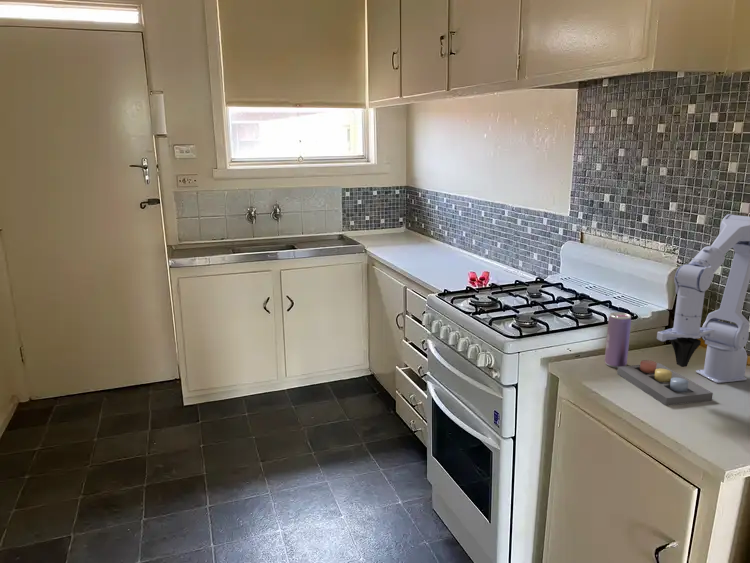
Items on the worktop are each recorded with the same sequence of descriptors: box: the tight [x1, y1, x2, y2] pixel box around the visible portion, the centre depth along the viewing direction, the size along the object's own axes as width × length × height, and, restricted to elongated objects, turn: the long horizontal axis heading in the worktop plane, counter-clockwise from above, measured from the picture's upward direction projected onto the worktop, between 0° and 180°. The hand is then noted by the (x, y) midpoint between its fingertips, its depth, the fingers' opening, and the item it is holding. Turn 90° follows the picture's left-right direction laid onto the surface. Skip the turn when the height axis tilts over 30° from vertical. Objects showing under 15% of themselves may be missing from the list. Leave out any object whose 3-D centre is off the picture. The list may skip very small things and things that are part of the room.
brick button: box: [639, 359, 658, 373], centre depth 155 cm, size 4×4×2 cm
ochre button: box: [654, 368, 672, 382], centre depth 150 cm, size 4×4×2 cm
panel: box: [616, 362, 714, 406], centre depth 150 cm, size 13×20×2 cm, turn 11°
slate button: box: [670, 378, 689, 392], centre depth 144 cm, size 4×4×2 cm
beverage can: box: [604, 311, 632, 369], centre depth 163 cm, size 6×6×15 cm
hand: (681, 365), depth 143 cm, fingers closed
